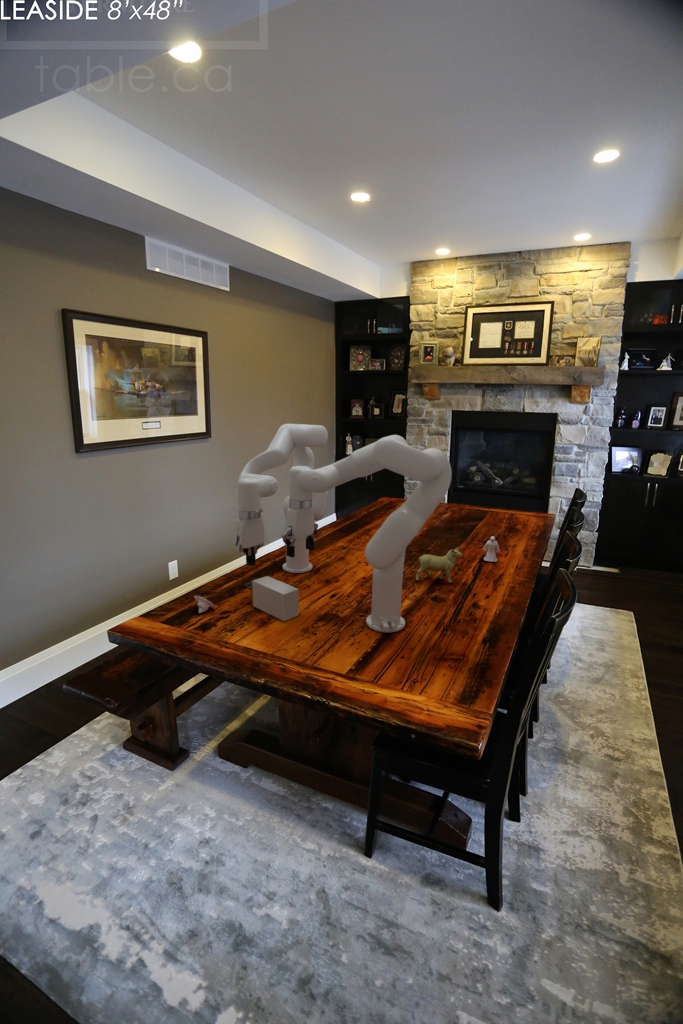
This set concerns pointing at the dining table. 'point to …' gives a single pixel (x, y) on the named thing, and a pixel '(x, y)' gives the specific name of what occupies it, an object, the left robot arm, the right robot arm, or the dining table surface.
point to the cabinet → (276, 598)
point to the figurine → (491, 550)
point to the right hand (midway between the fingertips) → (300, 553)
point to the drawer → (249, 588)
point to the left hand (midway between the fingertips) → (250, 564)
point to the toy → (439, 563)
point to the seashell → (203, 604)
